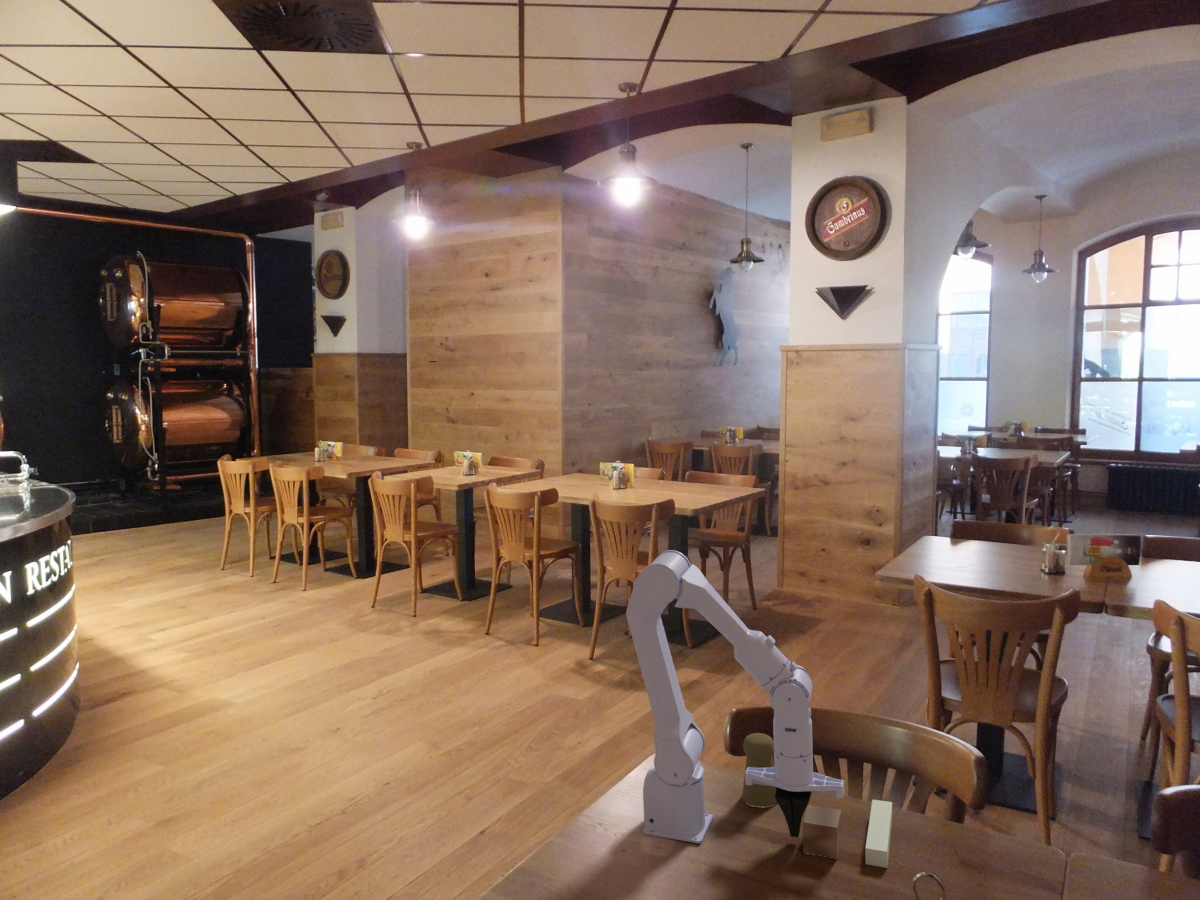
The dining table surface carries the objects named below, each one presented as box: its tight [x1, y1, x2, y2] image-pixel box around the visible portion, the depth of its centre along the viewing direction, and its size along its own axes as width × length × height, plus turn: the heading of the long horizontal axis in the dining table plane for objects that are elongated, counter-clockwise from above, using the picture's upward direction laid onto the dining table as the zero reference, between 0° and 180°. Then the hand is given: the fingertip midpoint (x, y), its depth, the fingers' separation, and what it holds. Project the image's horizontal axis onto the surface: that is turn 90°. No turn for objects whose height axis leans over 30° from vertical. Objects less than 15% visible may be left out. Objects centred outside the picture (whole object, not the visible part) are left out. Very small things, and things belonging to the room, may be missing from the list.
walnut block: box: [801, 804, 842, 859], centre depth 127 cm, size 5×5×5 cm
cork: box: [741, 732, 778, 807], centre depth 141 cm, size 6×6×11 cm
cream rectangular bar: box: [864, 799, 893, 869], centre depth 129 cm, size 3×14×2 cm, turn 158°
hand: (795, 833), depth 129 cm, fingers closed
